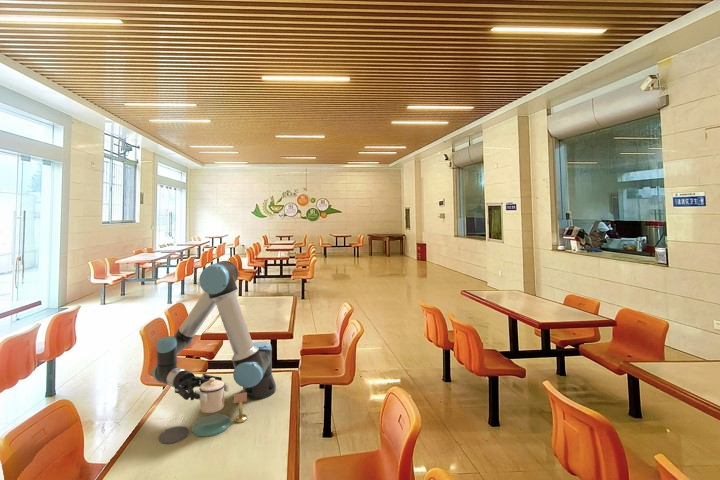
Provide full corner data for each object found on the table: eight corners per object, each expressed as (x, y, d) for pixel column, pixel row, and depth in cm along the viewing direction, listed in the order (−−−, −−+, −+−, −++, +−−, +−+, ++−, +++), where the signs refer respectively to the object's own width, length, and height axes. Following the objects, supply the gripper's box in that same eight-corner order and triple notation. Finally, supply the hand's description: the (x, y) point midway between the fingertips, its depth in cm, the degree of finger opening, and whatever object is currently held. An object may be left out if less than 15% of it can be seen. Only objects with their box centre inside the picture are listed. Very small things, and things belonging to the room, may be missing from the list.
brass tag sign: (247, 415, 151) (246, 389, 150) (247, 421, 146) (247, 394, 146) (234, 417, 149) (233, 391, 149) (234, 424, 145) (233, 396, 144)
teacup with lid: (228, 408, 141) (228, 379, 141) (204, 416, 136) (203, 386, 135) (217, 396, 151) (217, 369, 150) (194, 403, 145) (193, 375, 144)
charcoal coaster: (190, 426, 143) (190, 424, 143) (187, 440, 134) (187, 438, 134) (161, 431, 140) (161, 429, 140) (156, 446, 131) (156, 444, 131)
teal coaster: (230, 413, 152) (230, 411, 152) (230, 432, 139) (230, 430, 139) (193, 420, 147) (193, 418, 147) (190, 440, 134) (190, 438, 134)
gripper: (204, 378, 161) (239, 390, 150) (155, 399, 142) (192, 415, 131) (203, 361, 160) (239, 373, 149) (155, 380, 142) (191, 395, 130)
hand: (217, 393), depth 140 cm, fingers closed on teacup with lid, 9 cm apart
